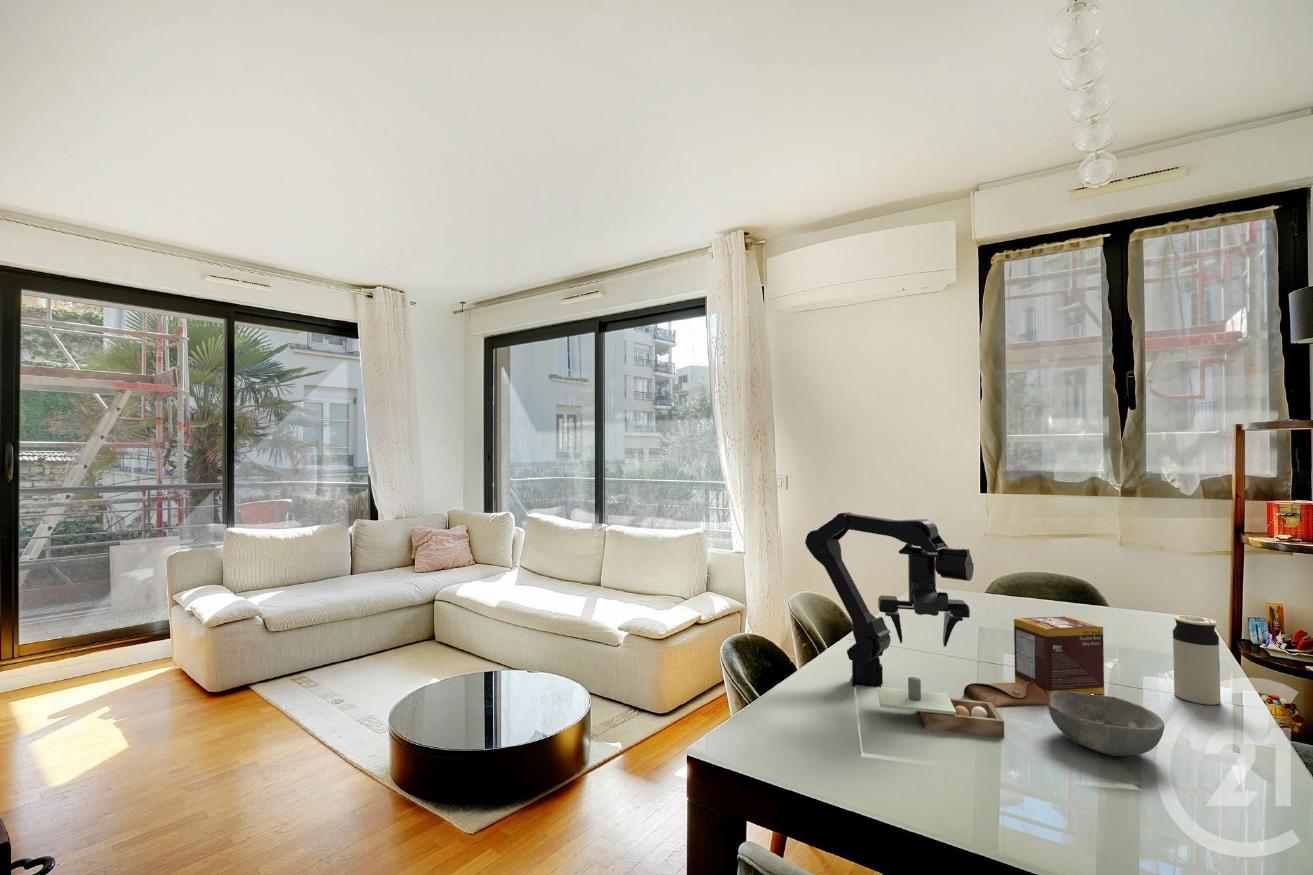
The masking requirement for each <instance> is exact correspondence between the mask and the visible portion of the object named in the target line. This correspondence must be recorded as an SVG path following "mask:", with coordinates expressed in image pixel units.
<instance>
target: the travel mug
mask: <svg viewBox="0 0 1313 875" xmlns="http://www.w3.org/2000/svg"><path fill="white" fill-rule="evenodd" d="M1173 619H1174V620H1175V627H1174V628H1173V630H1172V651H1173V653H1172V654H1173V656H1172V657H1173V689H1174V690H1173V691H1174V695H1175V696H1176V697H1177V698H1179V699H1181V700H1183V699H1184V700H1183V701H1186V700H1187V701H1186V702H1189V701H1190V702H1189V703H1193V702H1195V703H1194V704H1197V703H1198V705H1203V704H1205V705H1207V706H1210V705H1211V706H1215V705H1219V704H1221V703H1222V702H1221V701H1222V700H1221V675H1220V674H1221V673H1220V672H1221V671H1220V668H1221V667H1220V666H1221V665H1220V636H1219V635H1218V633H1217V632H1216V631H1215V629H1216V625H1217V624H1218V622H1217V621H1216V620H1215V619H1210V618H1207V617H1202V616H1196V615H1185V614H1183V615H1182V614H1181V615H1180V614H1179V615H1177V614H1176V615H1174V616H1173ZM1205 705H1204V706H1205Z"/></svg>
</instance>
